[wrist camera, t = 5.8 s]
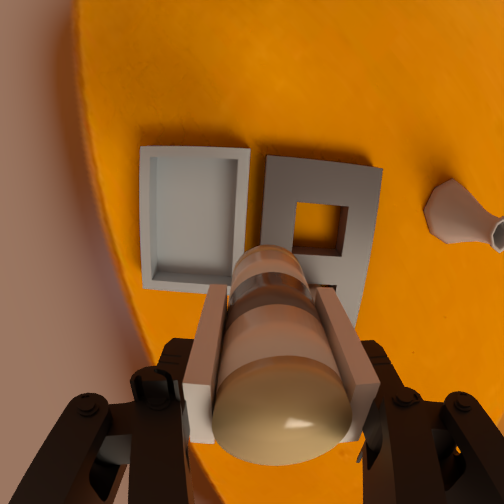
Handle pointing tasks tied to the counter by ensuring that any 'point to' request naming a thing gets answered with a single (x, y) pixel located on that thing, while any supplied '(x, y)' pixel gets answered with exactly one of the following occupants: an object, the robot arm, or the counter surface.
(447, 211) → the flask
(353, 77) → the counter surface
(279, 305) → the cylinder
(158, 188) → the parts tray
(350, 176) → the block
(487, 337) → the counter surface
